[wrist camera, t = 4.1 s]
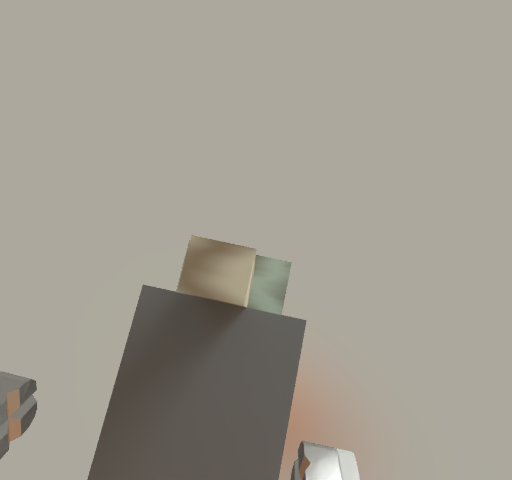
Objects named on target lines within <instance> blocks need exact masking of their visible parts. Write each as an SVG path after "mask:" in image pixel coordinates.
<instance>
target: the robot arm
mask: <svg viewBox="0 0 512 480" xmlns="http://www.w3.org/2000/svg"><path fill="white" fill-rule="evenodd" d="M36 390H37V388H36V381H34V380H32V379H28V378H25V377H21V376H17V375H13V374H9V373H6V372H2V371H0V459H1V458H2V457H3V456H4V455H5V454H6V452H7V451H8V450H9V443H10V441H12V440H14V439H16V438H18V437H20V436H21V435H22V434H23V433H24V432H25V431H26V430H27V428H28V427H29V426H30V424H31V422H32V420H33V419H34V417H35V413H36V410H37V401H36V400H35V398H34V397H33V395H32V394H33V393H34V392H35V391H36ZM291 480H360V477H359V473H358V468H357V463H356V459H355V455H354V454H353V452H350V451H345V450H341V449H337V448H333V447H328V446H324V445H319V444H315V443H310V442H305V441H302V442H301V443H300V446H299V449H298V459H297V460H296V461H295V462H294V465H293V469H292V474H291Z"/></svg>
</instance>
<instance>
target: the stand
mask: <svg viewBox="0 0 512 480" xmlns="http://www.w3.org/2000/svg"><path fill="white" fill-rule="evenodd" d="M305 325H306V320H302V319H298V318H293V317H288V316H284V315H279V314H275V313H270V312H266V311H261V310H256V309H252V308H247V307H243V306H238V305H234V304H229V303H224V302H220V301H215V300H211V299H206V298H202V297H197V296H192V295H188V294H183V293H179V292H174V291H170V290H165V289H161V288H156V287H151V286H147V285H143V286H142V290H141V294H140V297H139V301H138V304H137V307H136V311H135V315H134V319H133V322H132V325H131V329H130V332H129V336H128V339H127V343H126V346H125V350H124V353H123V357H122V361H121V364H120V367H119V371H118V375H117V378H116V381H115V385H114V388H113V392H112V395H111V399H110V402H109V406H108V409H107V413H106V416H105V420H104V423H103V427H102V430H101V435H100V437H99V441H98V444H97V448H96V451H95V455H94V459H93V462H92V465H91V469H90V472H89V476H88V480H278V478H279V473H280V466H281V461H282V456H283V450H284V444H285V439H286V433H287V427H288V421H289V416H290V410H291V405H292V399H293V393H294V388H295V381H296V376H297V371H298V365H299V359H300V354H301V348H302V342H303V336H304V331H305Z"/></svg>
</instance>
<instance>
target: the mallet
mask: <svg viewBox="0 0 512 480" xmlns="http://www.w3.org/2000/svg"><path fill="white" fill-rule="evenodd" d="M290 267H291V262H287V261H282V260H277V259H273V258H268V257H263V256H259V255H256V249H254V248H249V247H244V246H240V245H235V244H230V243H225V242H220V241H216V240H212V239H207V238H202V237H197V236H193V235H192V236H191V239H190V241H189V244H188V248H187V252H186V256H185V259H184V263H183V267H182V271H181V275H180V278H179V282H178V286H177V290H176V292H179V293H183V294H188V295H192V296H197V297H202V298H206V299H211V300H215V301H220V302H224V303H229V304H234V305H238V306H243V307H247V308H252V309H256V310H261V311H266V312H270V313H275V314H279V315H281V314H282V309H283V303H284V299H285V294H286V288H287V283H288V278H289V273H290Z"/></svg>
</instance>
